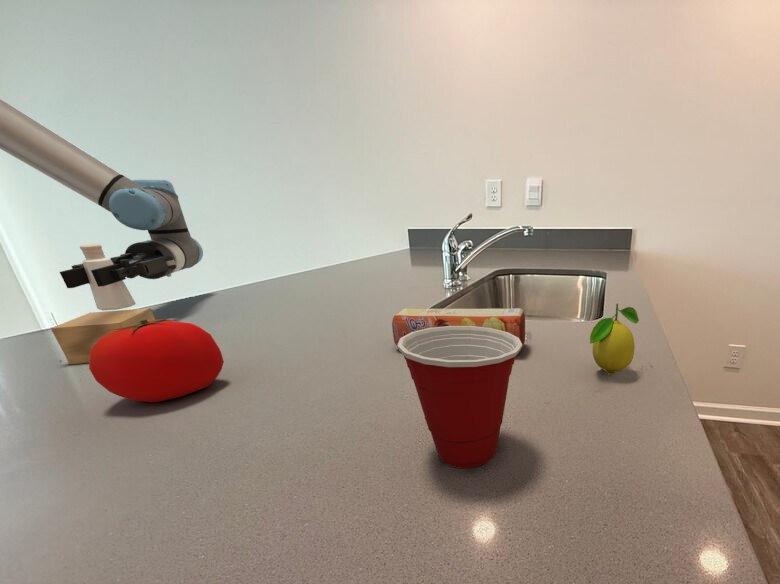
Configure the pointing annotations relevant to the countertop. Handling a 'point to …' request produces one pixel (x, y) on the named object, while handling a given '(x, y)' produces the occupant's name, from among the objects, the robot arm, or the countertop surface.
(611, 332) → the lemon
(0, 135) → the robot arm
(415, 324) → the snack package
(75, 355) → the wood block
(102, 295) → the salt shaker
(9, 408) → the countertop surface
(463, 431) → the plastic cup
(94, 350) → the tomato
